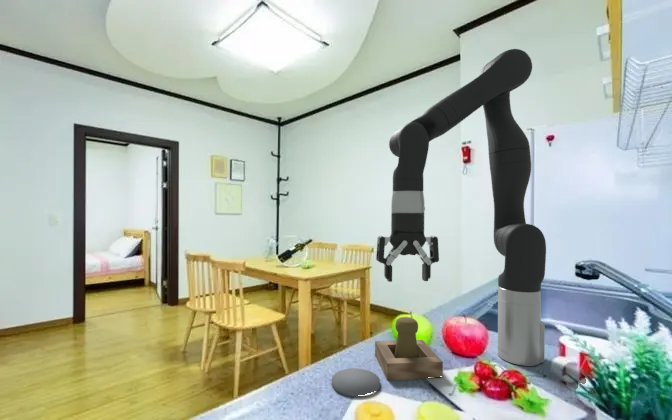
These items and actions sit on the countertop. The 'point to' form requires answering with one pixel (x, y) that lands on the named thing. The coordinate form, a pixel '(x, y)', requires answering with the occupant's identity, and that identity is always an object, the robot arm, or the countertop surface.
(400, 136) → the robot arm
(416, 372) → the pocket block
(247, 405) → the countertop surface
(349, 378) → the coaster
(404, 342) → the brown pawn
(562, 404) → the countertop surface
